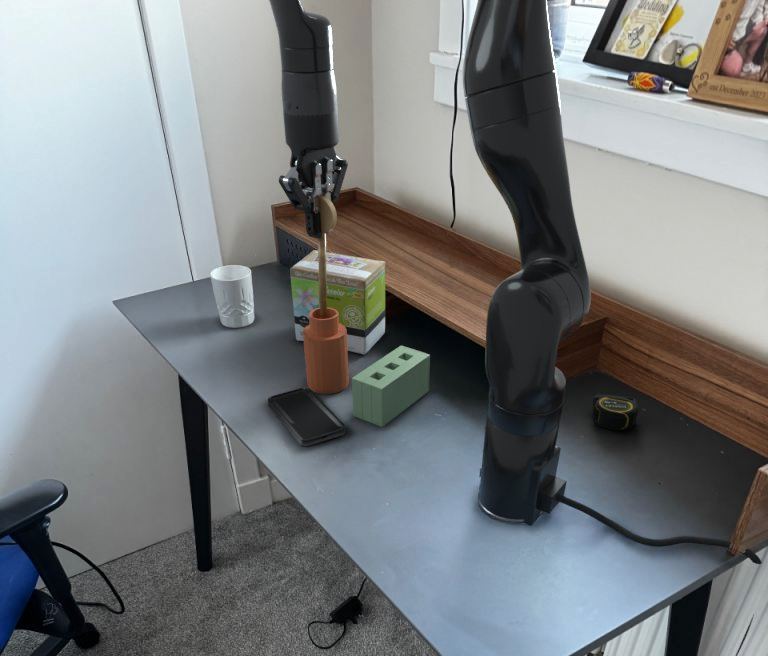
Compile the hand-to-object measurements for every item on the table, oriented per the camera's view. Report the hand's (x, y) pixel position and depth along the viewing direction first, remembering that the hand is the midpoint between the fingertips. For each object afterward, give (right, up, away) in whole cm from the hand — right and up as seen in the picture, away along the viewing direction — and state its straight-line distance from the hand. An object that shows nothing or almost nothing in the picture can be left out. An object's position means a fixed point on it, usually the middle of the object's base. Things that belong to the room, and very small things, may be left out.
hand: (318, 234), depth 110 cm
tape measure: (+47, -28, +7) cm, 55 cm away
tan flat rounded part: (0, -11, +9) cm, 14 cm away
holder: (+11, -24, +11) cm, 29 cm away
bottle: (0, -20, +16) cm, 26 cm away
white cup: (-20, -4, +36) cm, 41 cm away
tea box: (+2, -9, +30) cm, 31 cm away
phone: (-3, -27, +8) cm, 28 cm away
